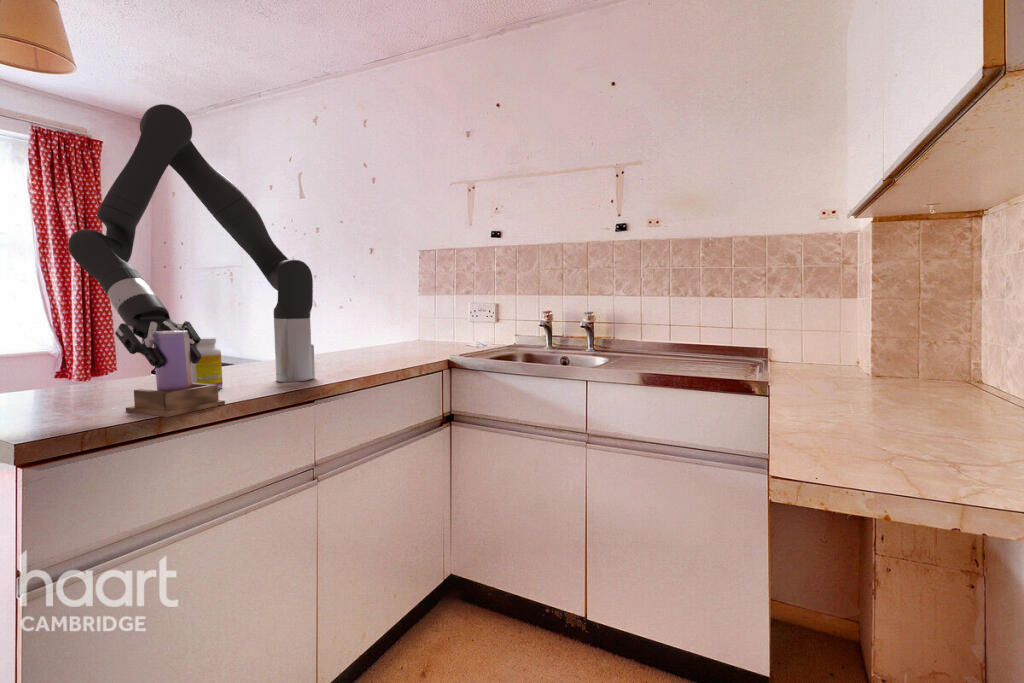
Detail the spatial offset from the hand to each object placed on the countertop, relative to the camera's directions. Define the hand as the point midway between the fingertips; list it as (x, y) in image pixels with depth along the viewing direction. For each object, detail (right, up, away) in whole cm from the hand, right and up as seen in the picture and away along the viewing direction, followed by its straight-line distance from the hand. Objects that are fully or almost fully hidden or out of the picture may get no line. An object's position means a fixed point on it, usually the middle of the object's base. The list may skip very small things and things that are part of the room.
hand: (179, 362), depth 97 cm
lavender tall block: (-2, -9, +1) cm, 9 cm away
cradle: (-1, -9, +1) cm, 10 cm away
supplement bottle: (-9, -8, +22) cm, 25 cm away
